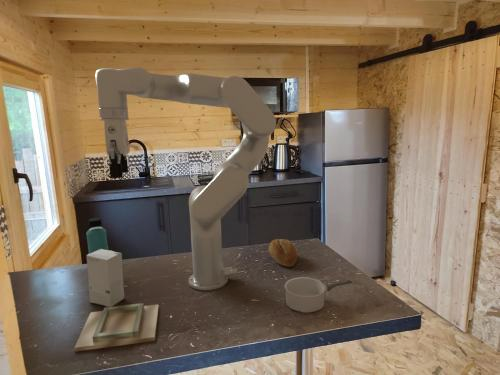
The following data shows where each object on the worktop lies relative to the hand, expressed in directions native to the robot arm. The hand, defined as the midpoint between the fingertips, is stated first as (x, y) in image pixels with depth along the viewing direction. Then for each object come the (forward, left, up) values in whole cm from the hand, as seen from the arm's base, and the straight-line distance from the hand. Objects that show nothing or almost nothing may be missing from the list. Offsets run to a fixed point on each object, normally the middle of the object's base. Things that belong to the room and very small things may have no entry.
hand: (119, 175), depth 100 cm
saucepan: (-54, +20, -37) cm, 69 cm away
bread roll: (-52, -10, -37) cm, 65 cm away
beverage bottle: (+12, -14, -37) cm, 41 cm away
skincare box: (+6, +5, -37) cm, 38 cm away
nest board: (0, +20, -37) cm, 42 cm away
